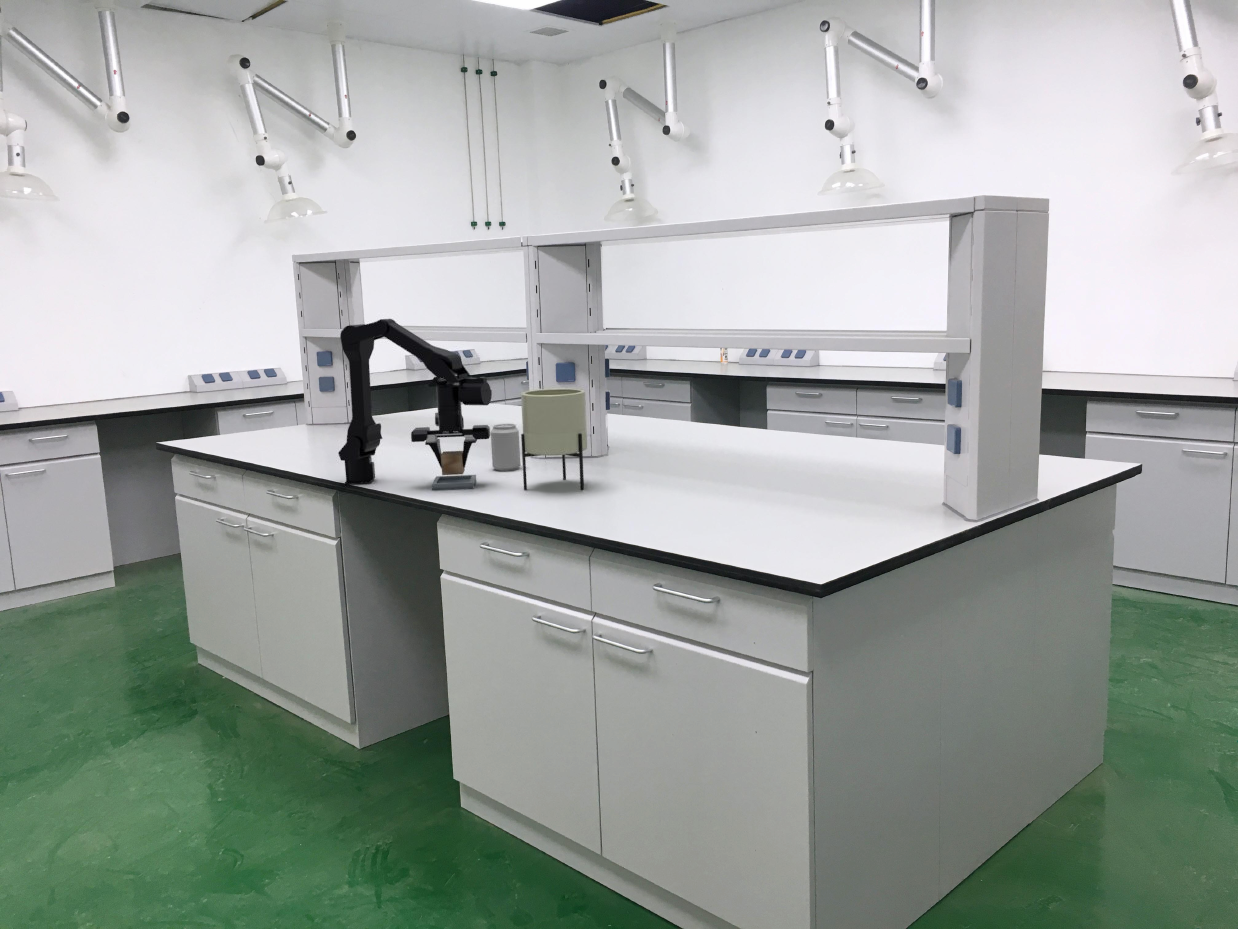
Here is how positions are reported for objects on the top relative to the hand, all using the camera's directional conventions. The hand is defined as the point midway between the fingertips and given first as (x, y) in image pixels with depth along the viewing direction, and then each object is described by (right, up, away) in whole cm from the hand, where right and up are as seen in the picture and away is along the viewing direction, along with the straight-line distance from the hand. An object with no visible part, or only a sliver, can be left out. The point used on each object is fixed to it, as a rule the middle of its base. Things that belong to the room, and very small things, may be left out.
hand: (453, 467), depth 240 cm
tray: (0, -4, +1) cm, 4 cm away
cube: (0, -1, 0) cm, 1 cm away
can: (+11, -1, +20) cm, 23 cm away
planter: (+26, -5, -4) cm, 26 cm away
